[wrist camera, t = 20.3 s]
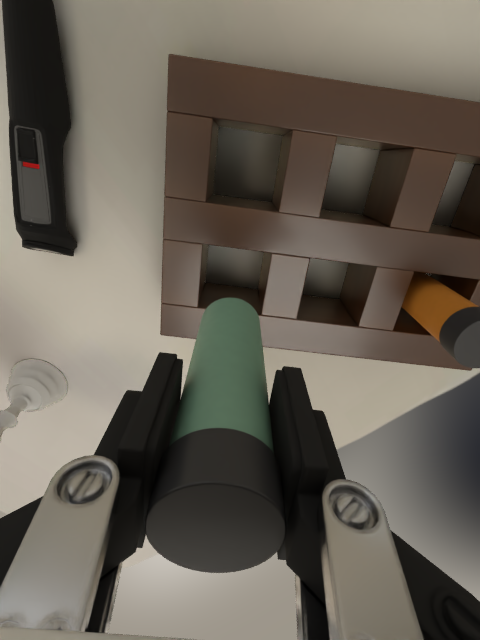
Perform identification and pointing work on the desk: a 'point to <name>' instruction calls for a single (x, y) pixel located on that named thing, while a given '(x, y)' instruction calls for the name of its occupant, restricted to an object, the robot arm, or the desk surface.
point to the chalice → (31, 390)
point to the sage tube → (220, 454)
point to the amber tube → (445, 317)
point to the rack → (319, 208)
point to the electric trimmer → (37, 124)
